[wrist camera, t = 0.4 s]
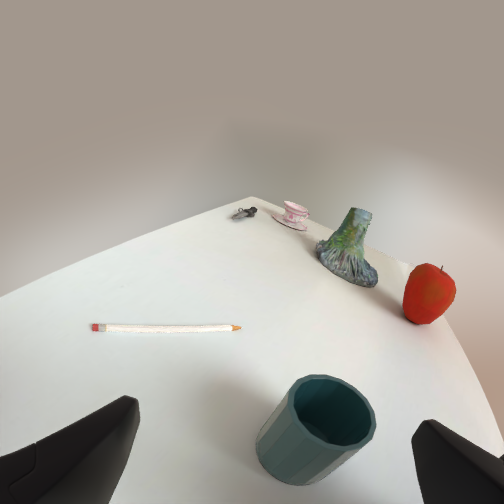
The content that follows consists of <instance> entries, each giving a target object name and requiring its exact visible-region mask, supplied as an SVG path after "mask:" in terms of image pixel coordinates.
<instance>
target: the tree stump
mask: <svg viewBox="0 0 504 504" xmlns="http://www.w3.org/2000/svg"><path fill="white" fill-rule="evenodd" d="M371 219H372V214H371V213H370V212H367V211H365V210H362V209H358V208H351V209H350V211H349V213H348V214H347V216H346V218H345V219H344V221H343V223H342V224H341V226H340V227H339V229H338V230H337V231H335V232H334V233H333V234H332V235H331V237H330V238H329V239H328V241H324V240H322V241H319V243H317V244H316V249H317V253H318V258H319V260H320V261H321V263H322V264H323V265H324V266H325V267H327V268H328V269H329V270H330V271H331V272H333V273H334V274H336V275H338V276H340V277H341V278H343V279H345V280H347V281H349V282H351V283H354V284H358V285H361V286H364V287H374V286H375V285H376V284H377V282H378V274H377V271H376V270H375V269H374V268H373V267H371V266H370V265H369V263H368V262H367V261H366V260H365V259H364V248H363V242H364V237H365V234H366V231H367V228H368V225H370V223H369V222H370V221H371Z"/></svg>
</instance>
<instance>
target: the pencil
mask: <svg viewBox="0 0 504 504" xmlns="http://www.w3.org/2000/svg"><path fill="white" fill-rule="evenodd" d="M241 328H243V327H239V326H234V325H218V326H131V325H105V324H93V331H106V332H140V333H185V332H220V331H234V330H237V329H241Z"/></svg>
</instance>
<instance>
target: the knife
mask: <svg viewBox="0 0 504 504" xmlns="http://www.w3.org/2000/svg"><path fill="white" fill-rule="evenodd" d="M239 209H242V208H239ZM238 211H239V210H238ZM239 212H240V211H239ZM255 212H257V209H256V208H255V207H251V208H250V209H245V210H243V209H242V211H241V212H240V213H237V214H235V215H234V216H233V217H232V218H234V219H239V218H242V217H244V216H247V217H254V214H253V213H255Z"/></svg>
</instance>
